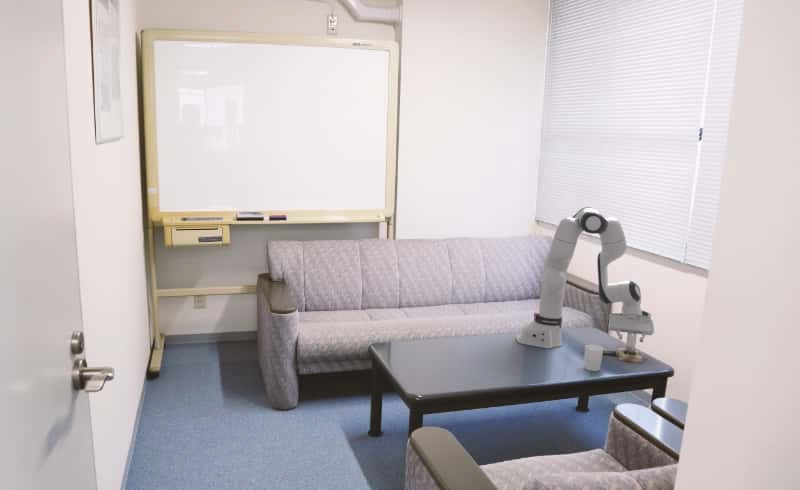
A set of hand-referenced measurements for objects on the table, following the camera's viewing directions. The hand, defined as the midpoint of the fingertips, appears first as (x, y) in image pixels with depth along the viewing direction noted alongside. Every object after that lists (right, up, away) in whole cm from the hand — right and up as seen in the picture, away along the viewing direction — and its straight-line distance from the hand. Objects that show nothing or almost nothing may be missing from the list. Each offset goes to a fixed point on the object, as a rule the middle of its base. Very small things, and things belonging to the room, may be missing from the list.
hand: (630, 340), depth 287 cm
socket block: (-1, -8, 0) cm, 8 cm away
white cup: (-23, -10, -15) cm, 30 cm away
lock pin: (-10, -6, +5) cm, 12 cm away
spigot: (-1, -8, 0) cm, 8 cm away
